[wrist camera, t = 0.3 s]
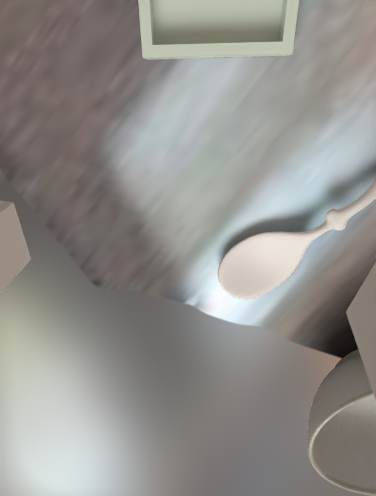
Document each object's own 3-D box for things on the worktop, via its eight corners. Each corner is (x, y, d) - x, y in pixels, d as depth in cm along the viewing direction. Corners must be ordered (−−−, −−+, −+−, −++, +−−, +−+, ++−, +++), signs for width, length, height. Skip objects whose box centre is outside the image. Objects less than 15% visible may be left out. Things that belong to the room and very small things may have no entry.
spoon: (473, 152, 34) (500, 159, 31) (244, 300, 46) (246, 315, 42) (440, 85, 31) (465, 85, 28) (204, 261, 43) (204, 275, 40)
